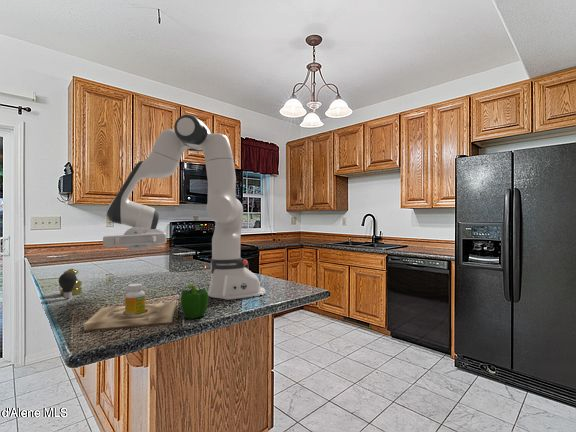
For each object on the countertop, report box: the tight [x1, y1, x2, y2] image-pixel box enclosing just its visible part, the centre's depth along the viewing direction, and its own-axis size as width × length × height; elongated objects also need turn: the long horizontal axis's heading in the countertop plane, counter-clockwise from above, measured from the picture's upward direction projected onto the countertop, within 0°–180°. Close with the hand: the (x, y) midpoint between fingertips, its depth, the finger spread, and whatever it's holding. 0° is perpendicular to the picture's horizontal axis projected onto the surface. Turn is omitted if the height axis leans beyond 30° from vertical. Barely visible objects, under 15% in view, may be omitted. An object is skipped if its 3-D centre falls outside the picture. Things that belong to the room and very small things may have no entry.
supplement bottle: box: [124, 283, 146, 316], centre depth 95 cm, size 5×5×10 cm
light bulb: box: [58, 272, 78, 300], centre depth 119 cm, size 6×6×10 cm
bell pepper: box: [180, 284, 210, 320], centre depth 97 cm, size 8×8×10 cm
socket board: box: [83, 301, 177, 332], centre depth 95 cm, size 22×16×2 cm
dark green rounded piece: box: [59, 268, 83, 297], centre depth 127 cm, size 7×7×10 cm
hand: (136, 240), depth 106 cm, fingers open, 8 cm apart
